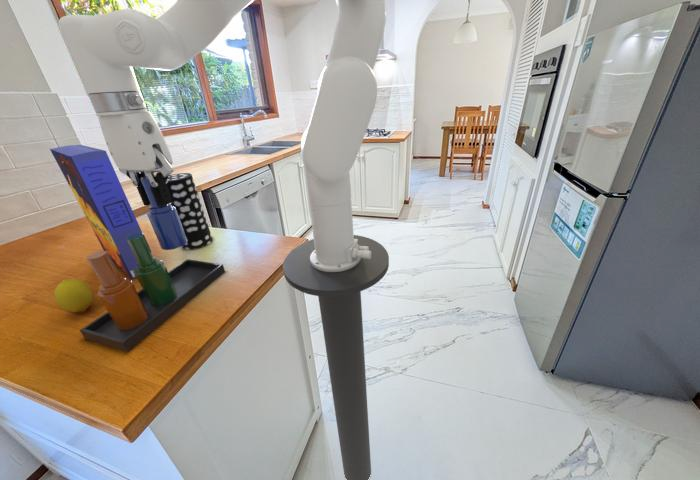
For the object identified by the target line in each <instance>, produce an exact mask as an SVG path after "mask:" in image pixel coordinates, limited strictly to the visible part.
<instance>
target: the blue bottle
mask: <svg viewBox="0 0 700 480" xmlns="http://www.w3.org/2000/svg"><path fill="white" fill-rule="evenodd" d="M154 176H156V174H154ZM140 180H141V182H142V185H143V187H144V190H145V192H146V195H147V197H148V200H149V202H150V204H151V205H149V206H148V212H146V215H147V218H148V220H149V223H150V225H151V227H152V229H153V233H154V234H155V237H156V239H157V241H158V244H159V246H160V248H161V250H164V251H171V250H175V249H178V248H182V246H183V245H185V244H186V243H187V241H188V240H187V238H186V235H185V232H184V229H183V227H182V224H181V221H180V218H179V216H178V213H177V210H176V208H175V207H174V206H171V203H169V204H166V205H164V206H162V207H158V206H157V204H156V202H155V199H154V197H153V194H152V192H151V189H150V188H151V187H153V186H152V185H151V183H150V181H149V179H148V176H144V177H141V178H140Z"/></svg>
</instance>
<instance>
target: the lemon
mask: <svg viewBox="0 0 700 480" xmlns="http://www.w3.org/2000/svg"><path fill="white" fill-rule="evenodd" d="M53 295H54V300H55V302H56V304H57V305H58V306H59V307H60V308H61V309H62V310H64V311H66V312H70V313H78V312H86V311H87V309H88V308H89V307H90V306H91V305H92V303H93V302H94V298H95V297H94V296H95V295H94V292H93V290H92V288H91V286H89V284H88V283H86V282H85V281H83V280H81V279H77V278H70V279H67V278H66V279H63V280H62V281H61V282H60V283H58V285H56V287H55V289H54V292H53Z"/></svg>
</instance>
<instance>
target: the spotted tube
mask: <svg viewBox="0 0 700 480" xmlns="http://www.w3.org/2000/svg"><path fill="white" fill-rule="evenodd" d="M167 180H168V183H166V184H167V187H168V189H169V192H170V195H171V198H172V202H171V206H174V207H175V208H176V210H177V213H178V216H179V218H180V221H181V224H182V227H183V229H184V232H185V235H186V238H187V240H188V241H187V243H186V244H185V245H183V246H181V248H182V249H184V250H190V251H191V250H197V249H202V248H203V247H206V246H208V245H210V244H211V243H212V242H213V236H212V232H211V230H210V227H209V226H210V225H209V224H208V220H207V218H206V214H205V211H204V208H203V205H202V202H201V199H200V196H199V193H198V189H197V186H196V183H195V180H194V178H193V174H192V173H189V172H182V173H173V174H172V173H171V174H170V175H169V176H168V178H167Z"/></svg>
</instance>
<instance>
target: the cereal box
mask: <svg viewBox="0 0 700 480" xmlns="http://www.w3.org/2000/svg"><path fill="white" fill-rule="evenodd" d="M49 150H50V152H51V155H52V156H53V158H54V160H55V163H57V165H58V167H59V169H60V171H61V173H62V175H63V177H64V178H65V180H66V182H67V184H68V186H69V188H70V190H71V192H72V194H73V195H74V197H75V199H76V201H77V203H78V205H79V206H80V208H81V210H82V212H83V214H84V216H85V218H86V220H87V222H88V223H89V225H90V227H91V229H92V231H93V234H94V235H95V237H96V239H97V240H98V242H99V244H100V246H101V248H102V251H107V253H108V255H109V256H110V258H111V260H112V262H113V264H114V265H116V266H117V267H118V268H119V269H120V270H122V272H124V274H126V275H127V276H128V277H129V278H130V279H131V280H135V279H137V277H136V275H135V272H134V271H135V269H136V265H137V264H138V262H137V260H136V258H135V256H134V253H133V251H132V249H131V247H130V245H129V243H128V241H127V237H128V236H130V235H133V234H137V233H143V230H142V228H141V226H140V224H139V222H138V220H137V217H136V215H135V213H134V210H133V208H132V205H131V204H130V201H129V200H128V198H127V195H126V193H125V191H124V188H123V185H122V183H121V181H120V180H119V177H118V175H117V172H116V170H115V168H114V166H113V163H112V161H111V159H110V156H109V154H108V152H107V150H106V149H105V150H104V149H100V148H97V147H91V146H88V145H83V144H70V145H63V146H58V147H53V148H49Z"/></svg>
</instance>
